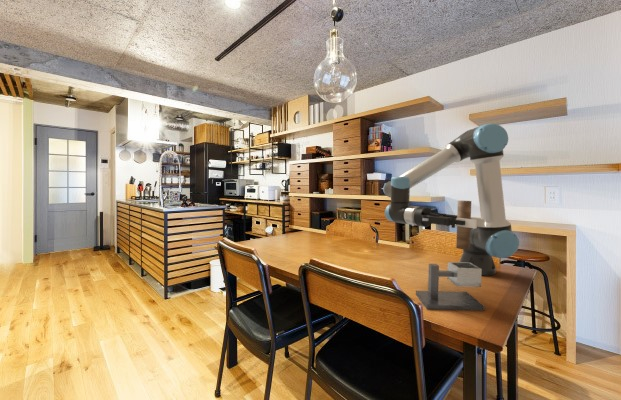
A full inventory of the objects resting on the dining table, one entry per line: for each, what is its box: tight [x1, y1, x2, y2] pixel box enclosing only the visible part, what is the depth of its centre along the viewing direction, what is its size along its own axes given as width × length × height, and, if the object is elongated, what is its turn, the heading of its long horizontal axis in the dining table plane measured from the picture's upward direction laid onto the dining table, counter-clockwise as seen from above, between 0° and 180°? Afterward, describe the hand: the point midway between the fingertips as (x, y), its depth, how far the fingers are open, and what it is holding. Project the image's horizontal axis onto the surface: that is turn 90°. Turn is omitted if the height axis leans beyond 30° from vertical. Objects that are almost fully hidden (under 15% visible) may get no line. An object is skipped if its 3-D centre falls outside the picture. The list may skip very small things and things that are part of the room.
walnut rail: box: [455, 200, 472, 250], centre depth 96 cm, size 4×4×16 cm
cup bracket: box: [415, 261, 486, 312], centre depth 97 cm, size 18×12×13 cm, turn 86°
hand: (480, 223), depth 91 cm, fingers closed on walnut rail, 4 cm apart
